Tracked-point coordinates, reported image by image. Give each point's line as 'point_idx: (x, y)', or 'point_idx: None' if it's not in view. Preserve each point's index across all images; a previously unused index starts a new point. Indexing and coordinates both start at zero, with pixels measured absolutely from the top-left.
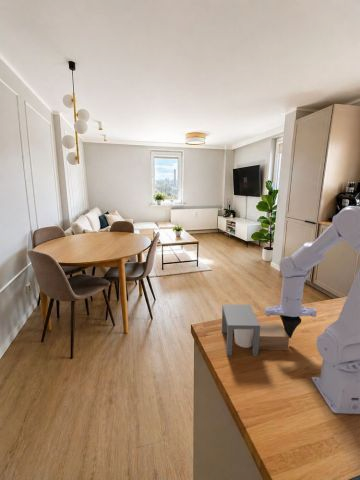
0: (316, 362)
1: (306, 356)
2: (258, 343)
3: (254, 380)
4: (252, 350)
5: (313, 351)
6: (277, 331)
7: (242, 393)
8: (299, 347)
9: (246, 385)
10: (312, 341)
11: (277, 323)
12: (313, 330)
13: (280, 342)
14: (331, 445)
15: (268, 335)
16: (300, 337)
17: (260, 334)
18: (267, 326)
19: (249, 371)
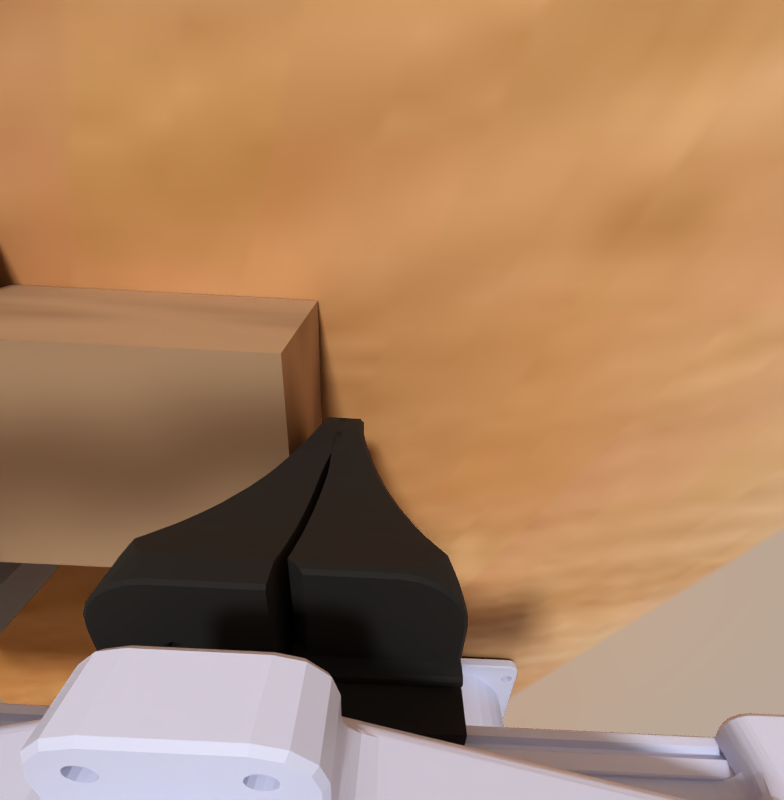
0: (459, 573)
1: (427, 533)
2: (16, 609)
3: (82, 645)
4: None
5: (509, 496)
6: (200, 507)
7: (35, 685)
8: (429, 457)
9: (47, 661)
10: (591, 394)
11: (238, 356)
12: (764, 211)
13: None
14: None
15: (95, 554)
16: (519, 336)
17: (12, 541)
18: (87, 421)
19: (53, 608)
